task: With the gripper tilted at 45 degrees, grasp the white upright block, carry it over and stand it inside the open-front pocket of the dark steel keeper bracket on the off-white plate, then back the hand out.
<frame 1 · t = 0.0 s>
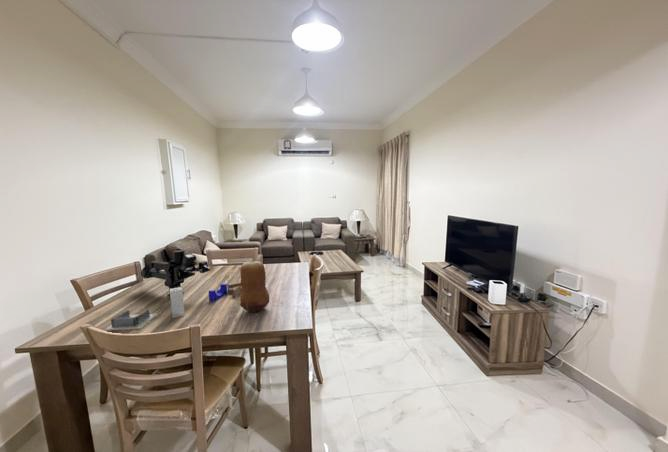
hand: (202, 271, 142), 17 cm above the table, tool horizontal, fingers open, 9 cm apart
white upright block: (178, 314, 128), on the table
cable clip: (217, 297, 150), on the table
wooden block set: (244, 291, 159), on the table
keeper bracket: (132, 323, 120), on the table
butternut squash: (255, 310, 131), on the table
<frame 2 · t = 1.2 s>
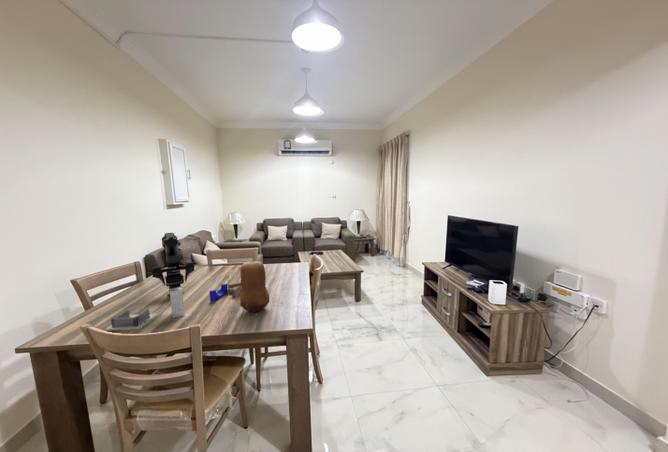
hand: (175, 283, 132), 14 cm above the table, tool tilted 45°, fingers open, 9 cm apart
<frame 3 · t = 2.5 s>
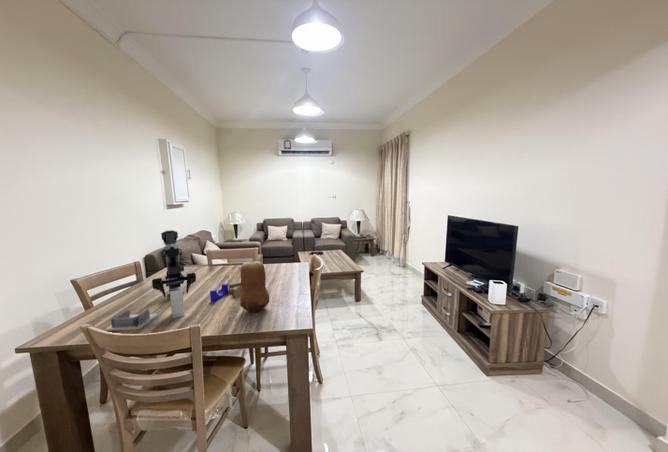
hand: (176, 295, 128), 9 cm above the table, tool tilted 45°, fingers open, 9 cm apart
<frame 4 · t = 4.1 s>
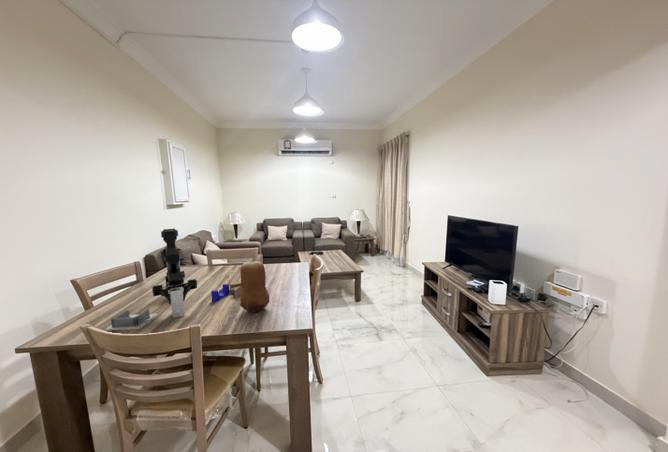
hand: (177, 302, 126), 7 cm above the table, tool tilted 45°, fingers closed on white upright block, 5 cm apart
white upright block: (178, 314, 128), on the table, touching gripper
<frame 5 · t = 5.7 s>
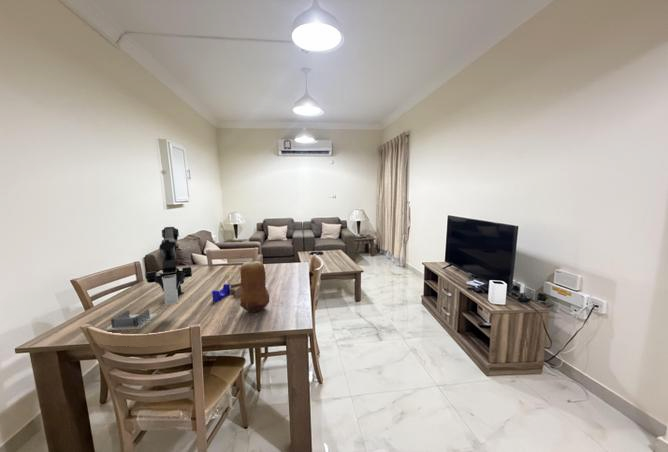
hand: (170, 290, 124), 13 cm above the table, tool tilted 45°, fingers closed on white upright block, 5 cm apart
white upright block: (171, 302, 126), point 7 cm above the table, touching gripper
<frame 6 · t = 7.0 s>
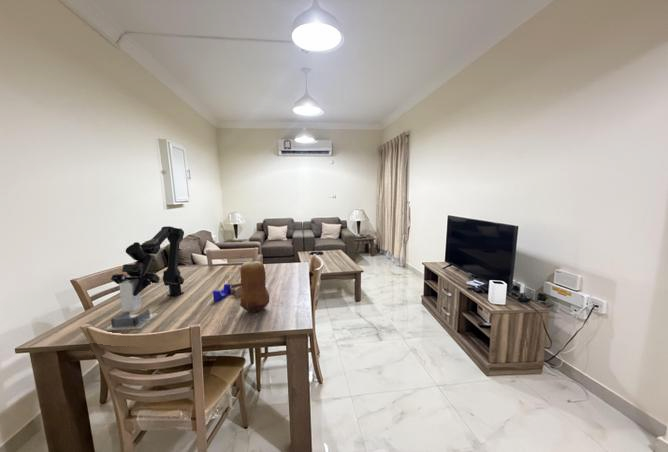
hand: (128, 295, 117), 13 cm above the table, tool tilted 45°, fingers closed on white upright block, 5 cm apart
white upright block: (132, 308, 120), point 7 cm above the table, touching gripper
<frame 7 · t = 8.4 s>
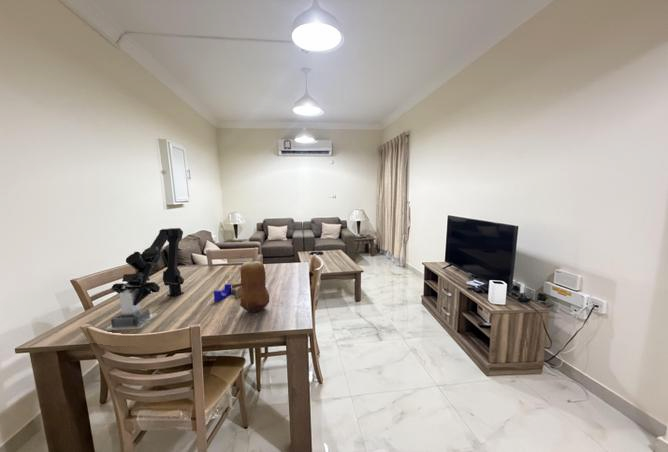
hand: (128, 305, 118), 9 cm above the table, tool tilted 45°, fingers closed on white upright block, 5 cm apart
white upright block: (132, 318, 120), point 2 cm above the table, touching gripper
when the fingers open (9 cm above the table, at t = 8.5 s): white upright block drops 1 cm, resting on keeper bracket.
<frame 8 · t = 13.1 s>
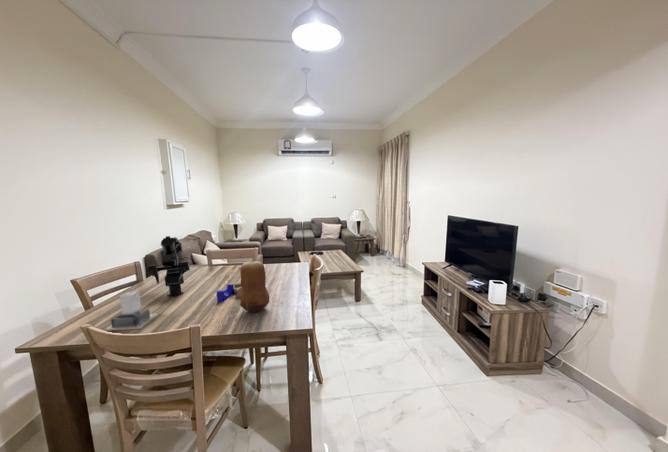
hand: (168, 282, 135), 14 cm above the table, tool tilted 45°, fingers open, 9 cm apart
white upright block: (132, 320, 120), point 1 cm above the table, touching keeper bracket
cable clip: (224, 298, 149), on the table
wooden block set: (250, 292, 158), on the table
everything else where it was.
at the end: white upright block 0.1 cm off-centre on the keeper bracket, point 1.0 cm above the keeper bracket's base; white upright block tilted 0°; the gripper is holding nothing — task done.
